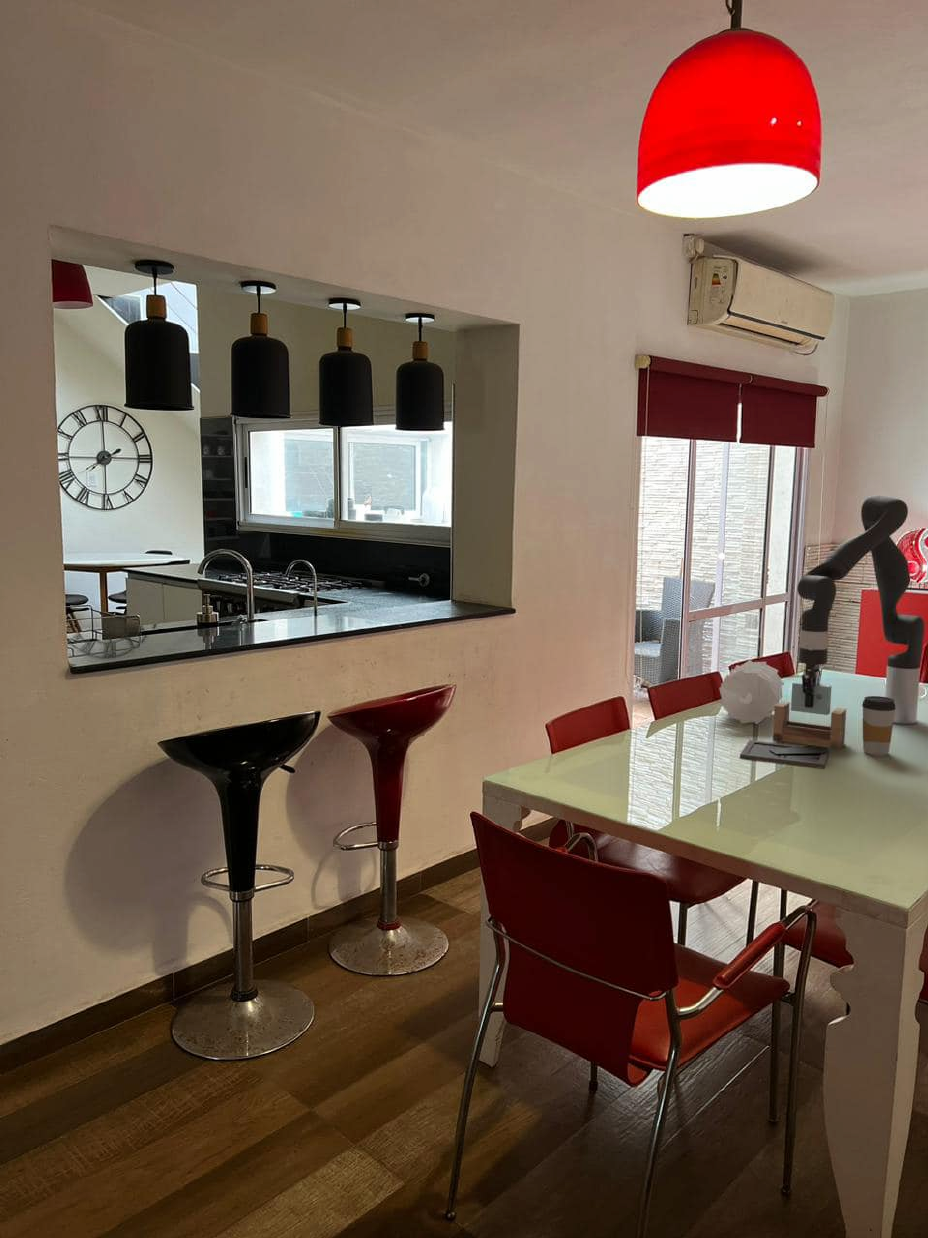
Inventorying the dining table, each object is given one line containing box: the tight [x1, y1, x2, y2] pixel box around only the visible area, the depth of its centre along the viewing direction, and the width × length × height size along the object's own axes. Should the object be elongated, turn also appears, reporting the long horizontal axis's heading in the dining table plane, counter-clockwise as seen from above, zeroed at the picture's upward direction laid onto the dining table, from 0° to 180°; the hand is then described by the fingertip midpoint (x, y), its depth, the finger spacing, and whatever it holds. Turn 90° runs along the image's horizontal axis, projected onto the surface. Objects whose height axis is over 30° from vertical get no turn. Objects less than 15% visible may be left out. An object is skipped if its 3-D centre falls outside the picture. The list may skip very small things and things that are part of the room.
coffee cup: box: [861, 695, 896, 757], centre depth 246 cm, size 8×8×15 cm
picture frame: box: [739, 739, 830, 769], centre depth 245 cm, size 16×2×21 cm
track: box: [772, 700, 847, 750], centre depth 258 cm, size 7×18×10 cm, turn 56°
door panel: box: [790, 680, 832, 716], centre depth 257 cm, size 4×10×8 cm, turn 56°
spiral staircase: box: [719, 659, 785, 725], centre depth 285 cm, size 18×18×25 cm
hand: (810, 705), depth 257 cm, fingers closed on door panel, 3 cm apart
